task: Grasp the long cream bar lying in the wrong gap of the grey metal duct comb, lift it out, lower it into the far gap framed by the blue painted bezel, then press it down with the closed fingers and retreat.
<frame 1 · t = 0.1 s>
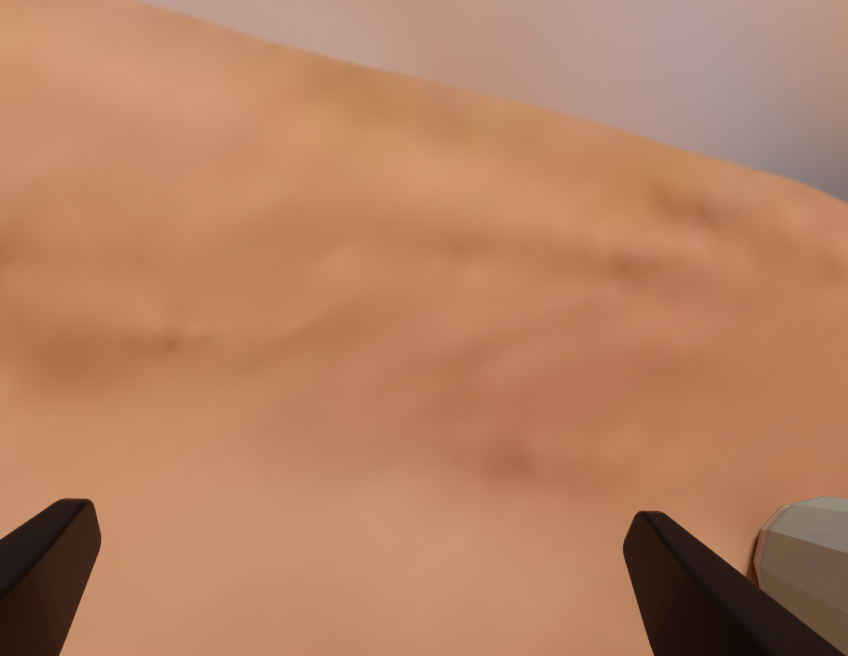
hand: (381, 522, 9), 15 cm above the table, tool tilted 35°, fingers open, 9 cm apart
disposable coffee cup: (801, 554, 26), on the table
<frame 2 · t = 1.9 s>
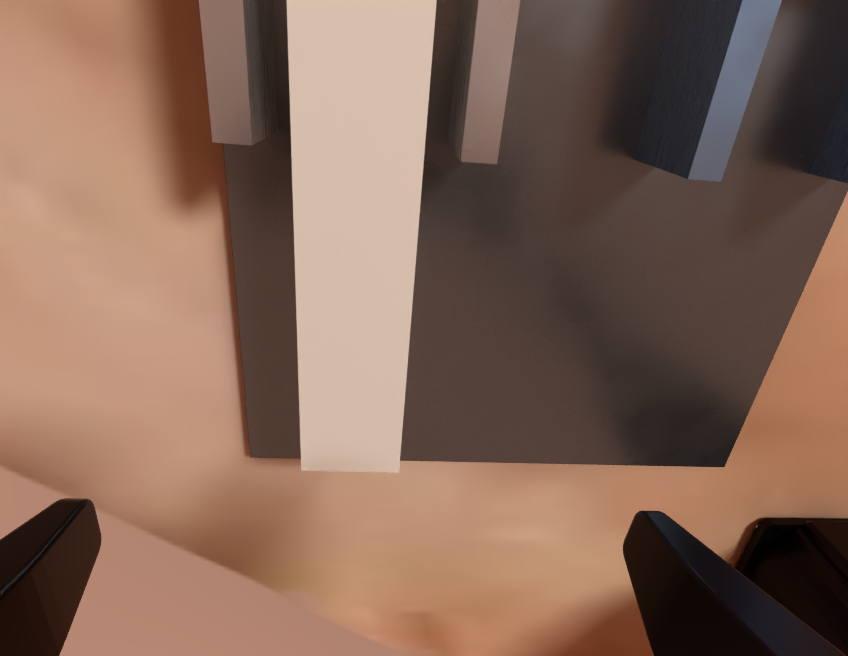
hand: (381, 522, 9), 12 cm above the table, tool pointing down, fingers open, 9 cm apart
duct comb: (538, 221, 19), on the table
long cream bar: (361, 214, 18), point 1 cm above the table, touching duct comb
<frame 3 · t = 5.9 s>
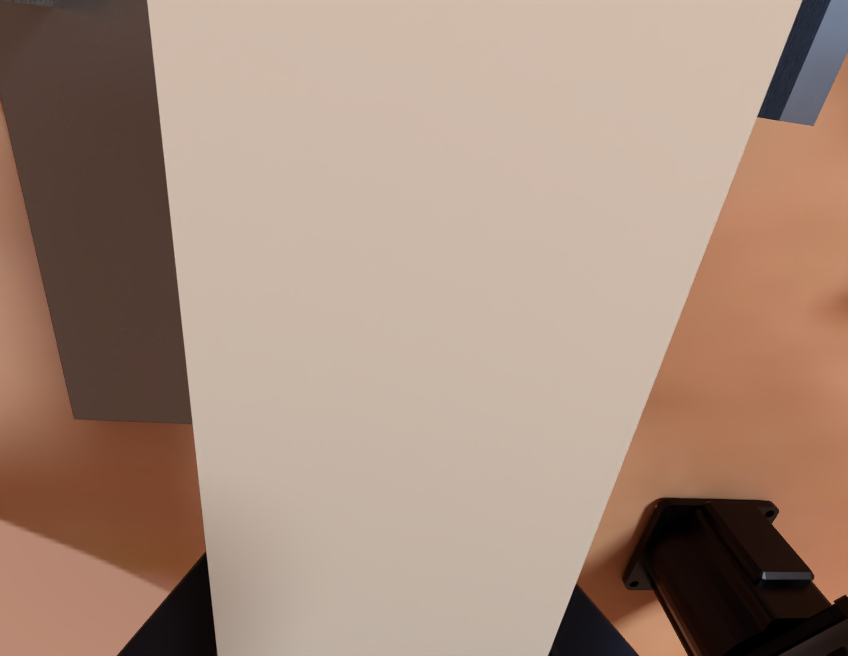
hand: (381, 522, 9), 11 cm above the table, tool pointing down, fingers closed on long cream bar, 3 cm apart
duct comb: (397, 149, 16), on the table
long cream bar: (401, 286, 7), point 10 cm above the table, touching gripper
when the fingers open (2 cm above the table, at t = 7.8 s): long cream bar drops 1 cm, resting on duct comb.
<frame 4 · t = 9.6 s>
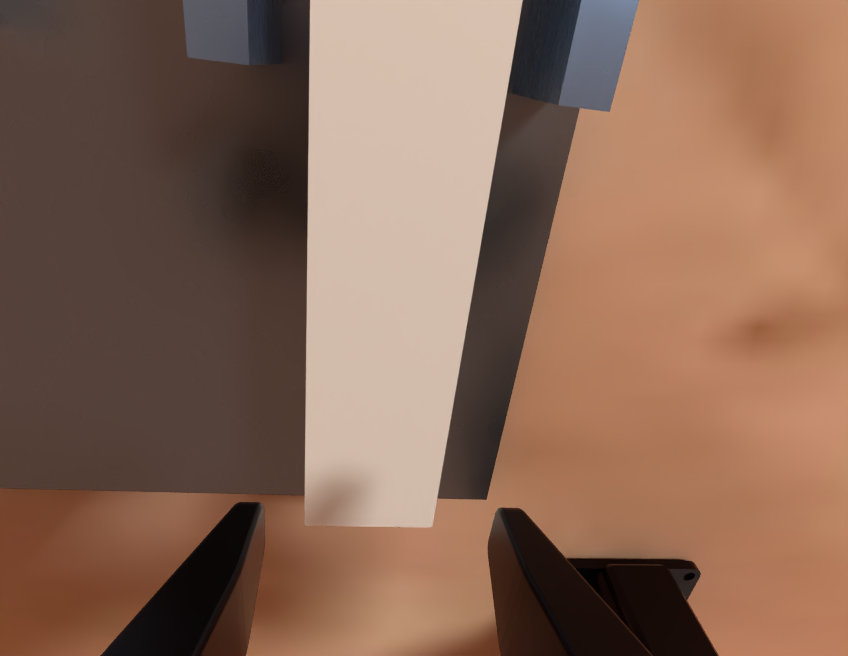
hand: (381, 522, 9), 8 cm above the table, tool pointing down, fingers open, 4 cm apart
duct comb: (135, 154, 13), on the table
long cream bar: (392, 186, 13), point 1 cm above the table, touching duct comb
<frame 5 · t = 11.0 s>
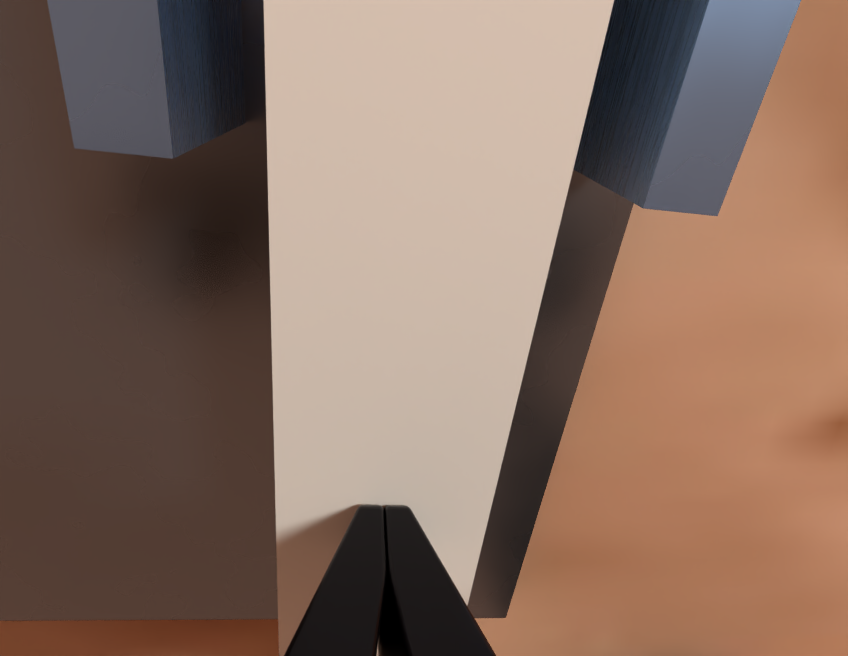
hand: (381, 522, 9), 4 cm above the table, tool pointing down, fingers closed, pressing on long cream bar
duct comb: (56, 234, 10), on the table
long cream bar: (393, 274, 10), point 1 cm above the table, touching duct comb, gripper
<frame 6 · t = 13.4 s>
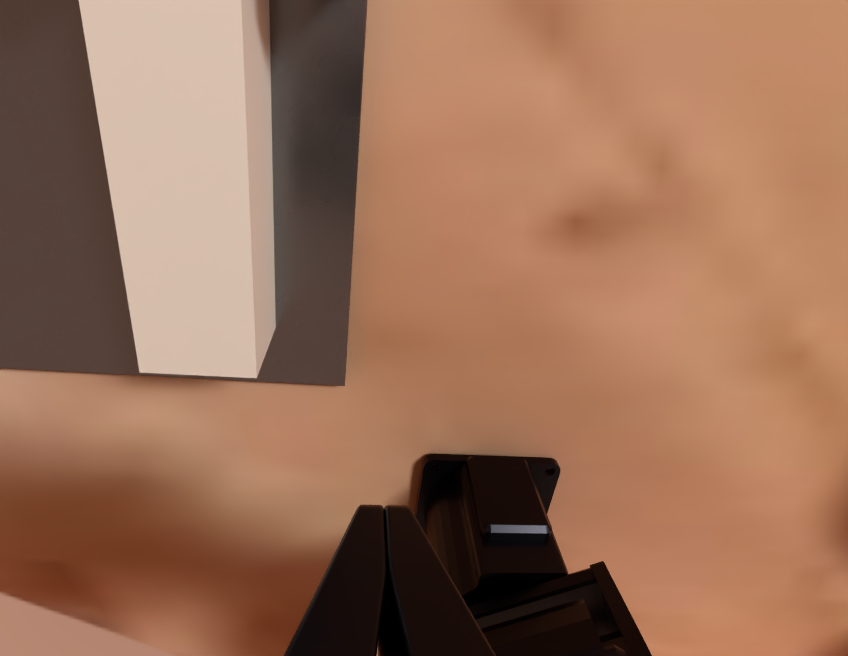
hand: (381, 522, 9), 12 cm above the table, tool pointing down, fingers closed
long cream bar: (210, 71, 15), point 1 cm above the table, touching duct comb
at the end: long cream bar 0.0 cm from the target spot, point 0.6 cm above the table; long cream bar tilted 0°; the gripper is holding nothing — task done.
